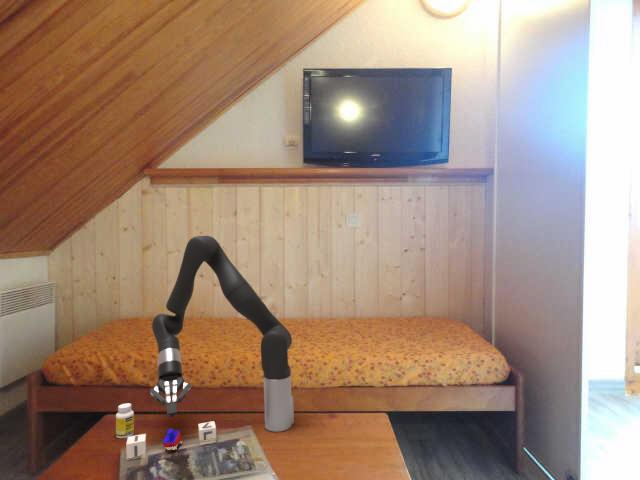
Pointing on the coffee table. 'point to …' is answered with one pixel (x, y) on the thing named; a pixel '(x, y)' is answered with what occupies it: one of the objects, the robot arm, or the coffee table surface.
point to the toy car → (172, 438)
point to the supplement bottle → (124, 421)
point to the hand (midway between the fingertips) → (172, 415)
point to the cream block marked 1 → (136, 445)
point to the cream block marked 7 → (207, 430)
